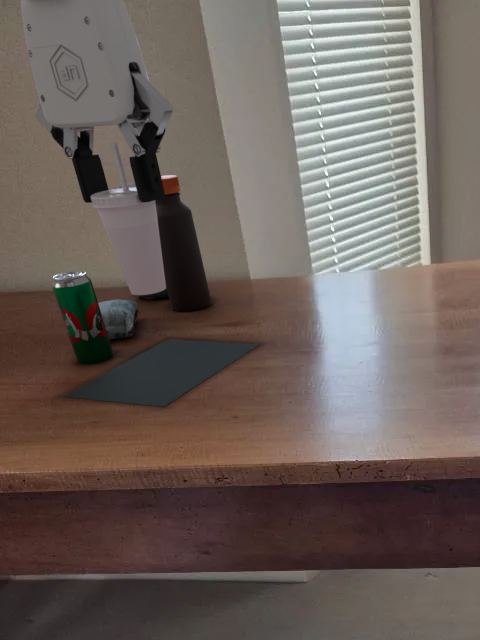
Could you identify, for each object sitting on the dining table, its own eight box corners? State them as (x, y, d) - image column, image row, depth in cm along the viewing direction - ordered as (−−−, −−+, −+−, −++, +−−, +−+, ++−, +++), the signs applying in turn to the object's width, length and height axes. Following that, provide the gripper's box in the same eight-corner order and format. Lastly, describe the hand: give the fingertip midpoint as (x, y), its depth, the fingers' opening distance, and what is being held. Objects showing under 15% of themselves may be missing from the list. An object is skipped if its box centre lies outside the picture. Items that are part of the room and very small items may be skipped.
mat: (63, 400, 93) (62, 396, 92) (169, 342, 109) (168, 338, 109) (165, 410, 87) (164, 406, 87) (260, 347, 104) (259, 344, 104)
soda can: (113, 352, 107) (87, 268, 101) (116, 362, 103) (89, 275, 97) (77, 359, 106) (49, 274, 99) (79, 370, 102) (49, 282, 95)
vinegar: (216, 306, 124) (187, 176, 112) (176, 314, 121) (143, 182, 110) (206, 298, 129) (178, 172, 118) (168, 305, 126) (135, 178, 115)
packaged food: (78, 351, 109) (67, 318, 106) (88, 328, 119) (79, 297, 116) (138, 343, 110) (129, 310, 108) (143, 321, 120) (135, 290, 117)
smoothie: (147, 301, 75) (106, 146, 67) (104, 296, 78) (60, 147, 70) (191, 284, 79) (157, 138, 71) (149, 280, 82) (113, 139, 74)
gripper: (-40, -15, 64) (33, 207, 74) (114, -39, 58) (170, 207, 67) (27, -12, 69) (86, 194, 79) (173, -34, 63) (217, 192, 73)
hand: (124, 198), depth 73 cm, fingers closed on smoothie, 6 cm apart
